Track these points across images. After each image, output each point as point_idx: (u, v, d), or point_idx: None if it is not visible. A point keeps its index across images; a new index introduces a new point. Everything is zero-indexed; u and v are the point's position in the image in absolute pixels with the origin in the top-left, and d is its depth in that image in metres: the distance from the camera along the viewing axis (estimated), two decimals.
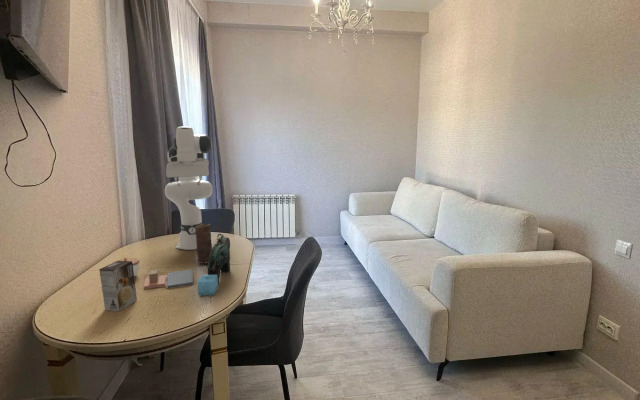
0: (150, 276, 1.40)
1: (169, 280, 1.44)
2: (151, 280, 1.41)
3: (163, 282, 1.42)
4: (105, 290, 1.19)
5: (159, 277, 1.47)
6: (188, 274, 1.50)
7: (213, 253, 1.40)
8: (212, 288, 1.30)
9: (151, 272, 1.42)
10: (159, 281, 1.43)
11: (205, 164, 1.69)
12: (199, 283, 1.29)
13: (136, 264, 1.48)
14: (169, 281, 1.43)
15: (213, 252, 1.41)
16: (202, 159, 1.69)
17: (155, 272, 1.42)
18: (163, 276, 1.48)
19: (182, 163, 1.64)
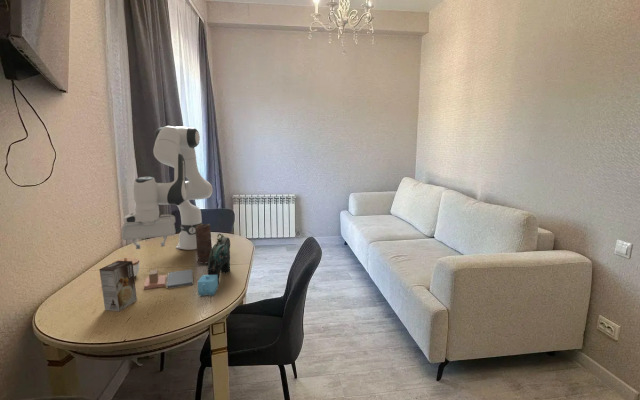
0: (150, 276, 1.40)
1: (169, 280, 1.44)
2: (151, 280, 1.41)
3: (163, 282, 1.42)
4: (105, 290, 1.19)
5: (159, 277, 1.47)
6: (188, 274, 1.50)
7: (213, 253, 1.40)
8: (212, 288, 1.30)
9: (151, 272, 1.42)
10: (159, 281, 1.43)
11: (170, 222, 1.41)
12: (199, 283, 1.29)
13: (136, 264, 1.48)
14: (169, 281, 1.43)
15: (213, 252, 1.41)
16: (167, 216, 1.41)
17: (155, 272, 1.42)
18: (163, 276, 1.48)
19: (141, 223, 1.36)
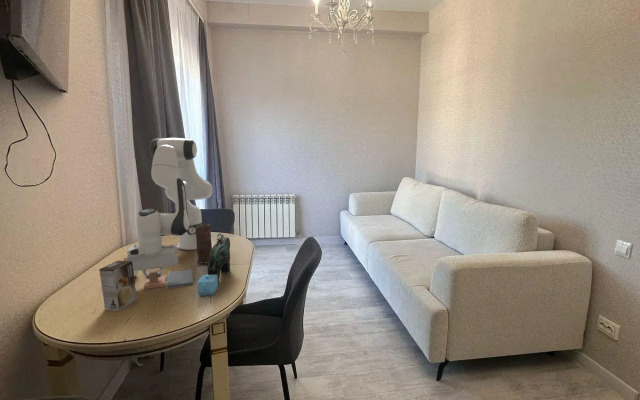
0: (150, 276, 1.40)
1: (169, 280, 1.44)
2: (151, 280, 1.41)
3: (163, 282, 1.42)
4: (105, 290, 1.19)
5: (159, 277, 1.47)
6: (188, 274, 1.50)
7: (213, 253, 1.40)
8: (212, 288, 1.30)
9: (151, 272, 1.42)
10: (159, 281, 1.43)
11: (173, 253, 1.43)
12: (199, 283, 1.30)
13: None
14: (169, 281, 1.43)
15: (213, 252, 1.41)
16: (170, 246, 1.43)
17: (155, 272, 1.42)
18: (163, 276, 1.48)
19: (145, 255, 1.39)
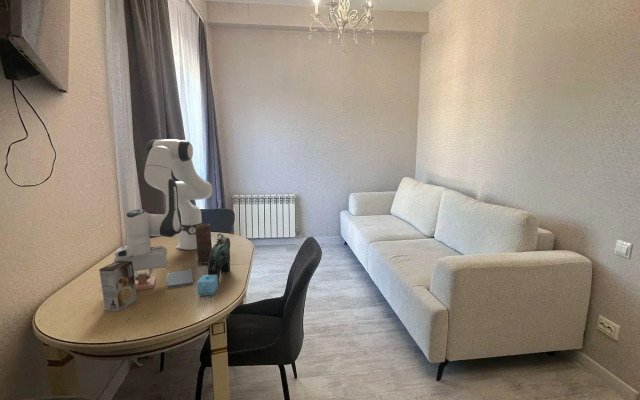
0: (139, 278, 1.39)
1: (169, 280, 1.44)
2: (140, 282, 1.39)
3: (152, 284, 1.40)
4: (105, 290, 1.19)
5: (148, 279, 1.45)
6: (188, 274, 1.50)
7: (213, 253, 1.40)
8: (212, 288, 1.30)
9: (140, 274, 1.41)
10: (148, 283, 1.41)
11: (162, 254, 1.42)
12: (199, 283, 1.30)
13: None
14: (169, 281, 1.43)
15: (213, 252, 1.41)
16: (159, 248, 1.42)
17: (144, 274, 1.41)
18: (152, 278, 1.46)
19: (133, 256, 1.37)
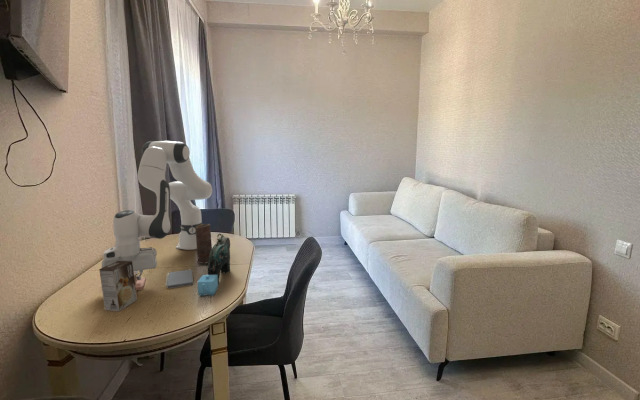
0: None
1: (169, 280, 1.44)
2: None
3: (141, 285, 1.38)
4: (105, 290, 1.19)
5: (138, 280, 1.44)
6: (188, 274, 1.50)
7: (213, 253, 1.40)
8: (212, 288, 1.30)
9: None
10: (137, 284, 1.39)
11: (151, 256, 1.40)
12: (199, 283, 1.30)
13: None
14: (169, 281, 1.43)
15: (213, 252, 1.41)
16: (148, 249, 1.40)
17: None
18: (142, 279, 1.45)
19: (122, 257, 1.35)
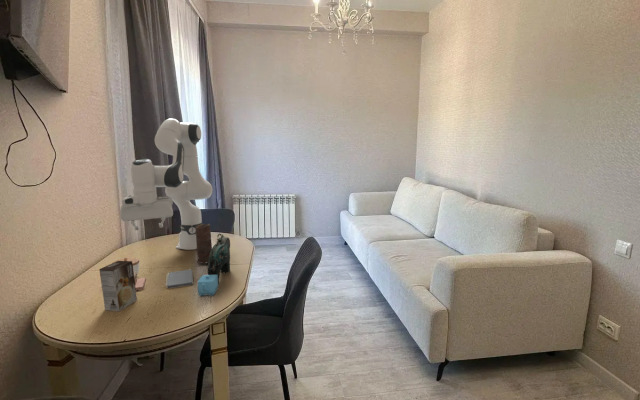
0: None
1: (169, 280, 1.44)
2: None
3: (141, 285, 1.38)
4: (105, 290, 1.19)
5: (138, 280, 1.44)
6: (188, 274, 1.50)
7: (213, 253, 1.40)
8: (212, 288, 1.30)
9: None
10: (137, 284, 1.39)
11: (168, 204, 1.44)
12: (199, 283, 1.30)
13: (136, 264, 1.48)
14: (169, 281, 1.43)
15: (213, 252, 1.41)
16: (164, 198, 1.44)
17: None
18: (142, 279, 1.45)
19: (139, 204, 1.39)
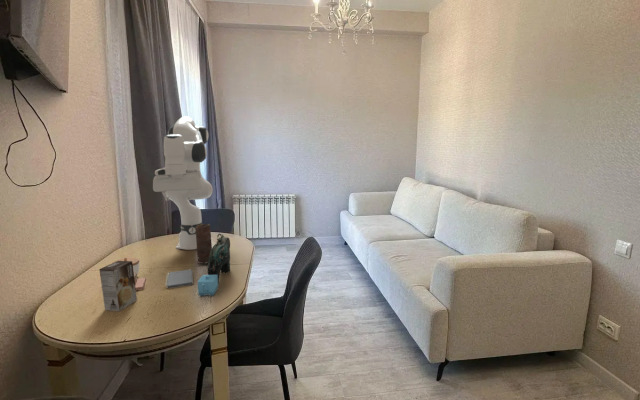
0: None
1: (169, 280, 1.44)
2: None
3: (141, 285, 1.38)
4: (105, 290, 1.19)
5: (138, 280, 1.44)
6: (188, 274, 1.50)
7: (213, 253, 1.40)
8: (212, 288, 1.30)
9: None
10: (137, 284, 1.39)
11: (196, 177, 1.53)
12: (199, 283, 1.29)
13: (136, 264, 1.48)
14: (169, 281, 1.43)
15: (213, 252, 1.41)
16: (193, 171, 1.54)
17: None
18: (142, 279, 1.45)
19: (171, 176, 1.49)
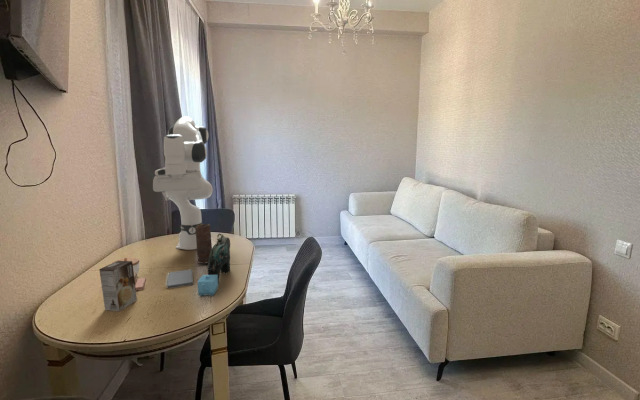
0: None
1: (169, 280, 1.44)
2: None
3: (141, 285, 1.38)
4: (105, 290, 1.19)
5: (138, 280, 1.44)
6: (188, 274, 1.50)
7: (213, 253, 1.40)
8: (212, 288, 1.30)
9: None
10: (137, 284, 1.39)
11: (196, 177, 1.53)
12: (199, 283, 1.30)
13: (136, 264, 1.48)
14: (169, 281, 1.43)
15: (213, 252, 1.41)
16: (193, 171, 1.54)
17: None
18: (142, 279, 1.45)
19: (171, 176, 1.49)
